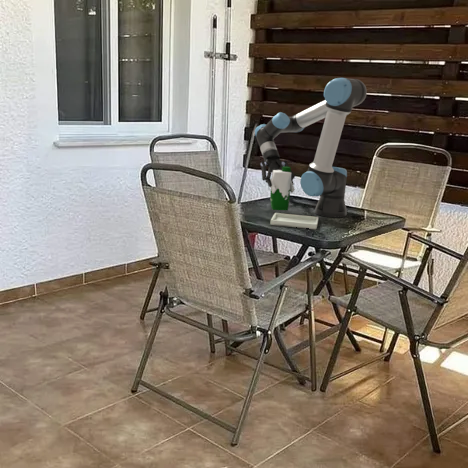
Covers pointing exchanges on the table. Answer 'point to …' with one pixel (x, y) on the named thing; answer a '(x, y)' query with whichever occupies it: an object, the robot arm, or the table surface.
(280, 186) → the soya milk
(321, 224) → the table surface
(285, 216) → the tray
